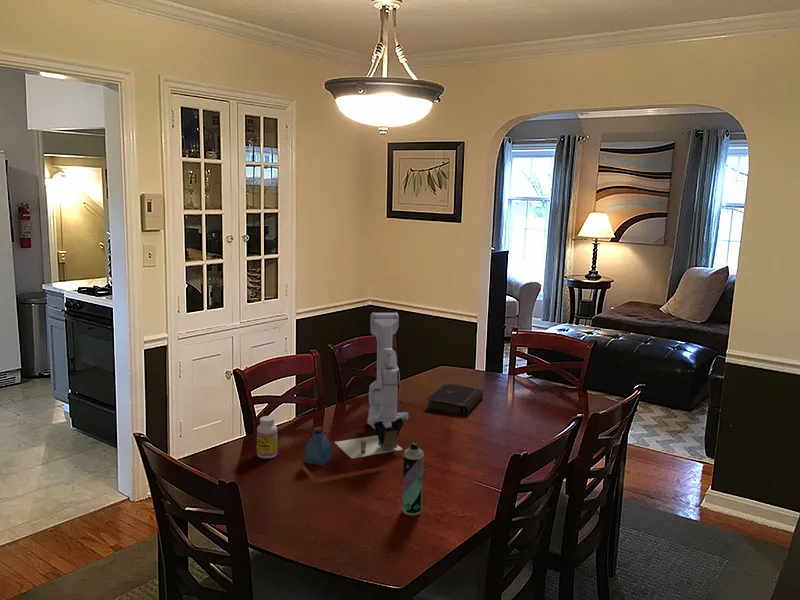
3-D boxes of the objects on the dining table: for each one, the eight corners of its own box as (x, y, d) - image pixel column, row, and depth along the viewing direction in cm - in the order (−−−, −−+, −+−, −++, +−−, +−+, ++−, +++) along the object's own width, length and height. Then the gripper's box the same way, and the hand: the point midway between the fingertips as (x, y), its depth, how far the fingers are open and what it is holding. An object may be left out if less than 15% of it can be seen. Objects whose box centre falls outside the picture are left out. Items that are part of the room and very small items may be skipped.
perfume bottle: (330, 461, 221) (331, 426, 219) (322, 469, 215) (322, 433, 213) (313, 458, 223) (313, 424, 221) (304, 466, 217) (305, 430, 215)
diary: (483, 399, 290) (484, 388, 289) (467, 418, 267) (468, 406, 266) (441, 393, 297) (442, 382, 296) (423, 410, 274) (423, 398, 273)
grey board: (334, 445, 234) (334, 442, 234) (383, 437, 243) (383, 434, 243) (351, 461, 221) (351, 458, 221) (403, 452, 230) (403, 449, 229)
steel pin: (360, 451, 226) (360, 440, 226) (364, 451, 227) (364, 439, 226) (361, 453, 225) (362, 442, 224) (366, 452, 226) (366, 441, 225)
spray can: (401, 506, 192) (403, 439, 189) (420, 505, 193) (422, 439, 189) (402, 515, 187) (405, 447, 183) (422, 515, 187) (425, 447, 184)
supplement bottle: (252, 457, 222) (252, 419, 220) (264, 449, 229) (263, 413, 226) (270, 460, 220) (270, 423, 218) (281, 453, 226) (281, 416, 224)
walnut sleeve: (378, 444, 231) (378, 428, 230) (390, 442, 233) (391, 426, 232) (384, 449, 227) (385, 432, 226) (397, 447, 229) (397, 430, 228)
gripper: (374, 409, 220) (373, 449, 223) (413, 404, 227) (411, 442, 229) (365, 403, 227) (364, 441, 229) (403, 397, 233) (402, 435, 236)
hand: (387, 441), depth 230 cm, fingers closed on walnut sleeve, 4 cm apart
